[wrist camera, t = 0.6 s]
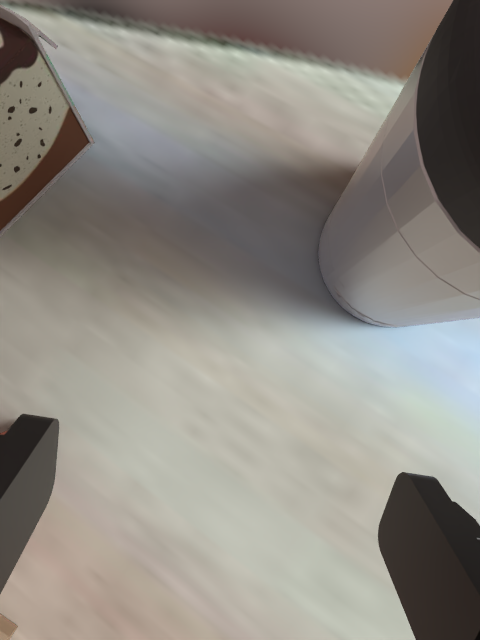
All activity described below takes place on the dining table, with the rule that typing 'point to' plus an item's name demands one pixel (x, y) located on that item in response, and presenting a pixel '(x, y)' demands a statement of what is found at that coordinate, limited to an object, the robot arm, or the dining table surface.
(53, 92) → the food container
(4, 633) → the tray
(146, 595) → the dining table surface
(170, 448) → the dining table surface
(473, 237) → the robot arm
